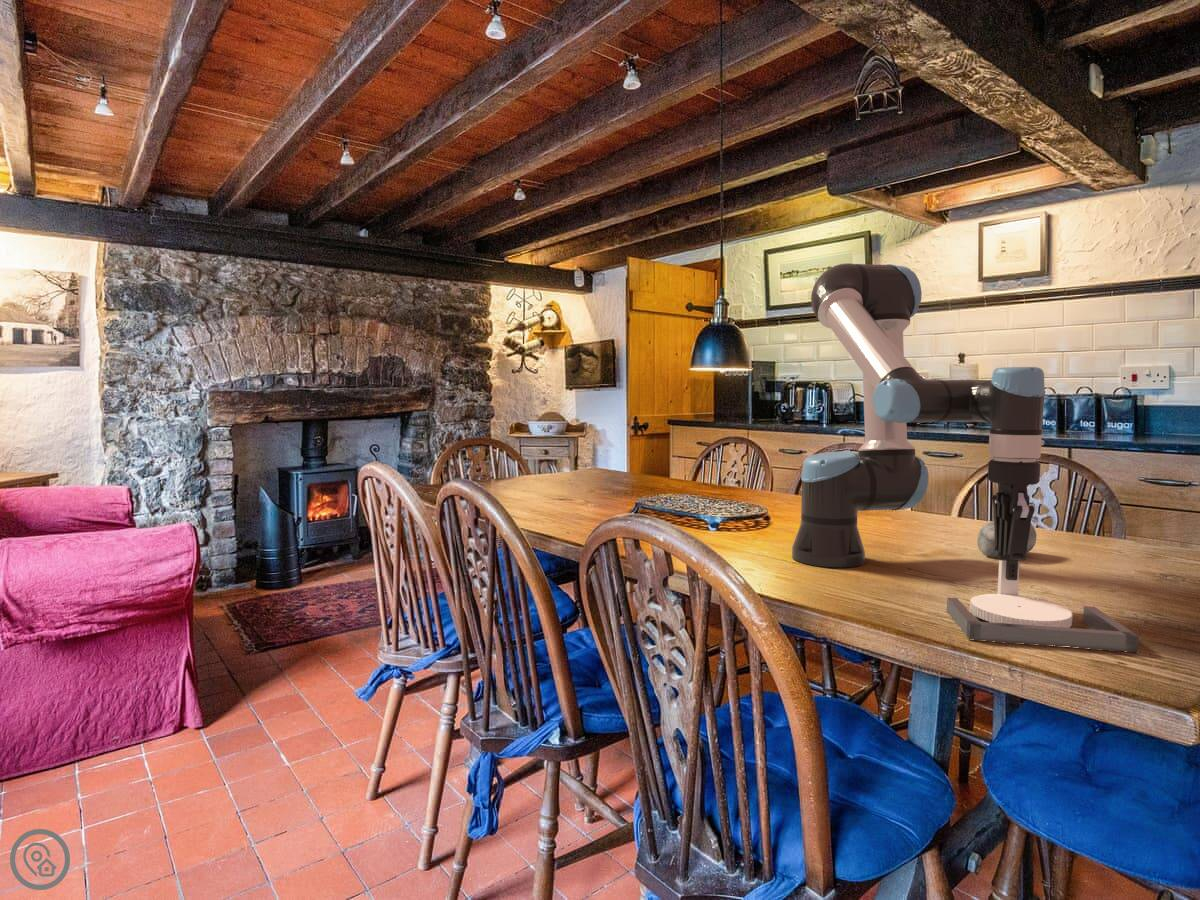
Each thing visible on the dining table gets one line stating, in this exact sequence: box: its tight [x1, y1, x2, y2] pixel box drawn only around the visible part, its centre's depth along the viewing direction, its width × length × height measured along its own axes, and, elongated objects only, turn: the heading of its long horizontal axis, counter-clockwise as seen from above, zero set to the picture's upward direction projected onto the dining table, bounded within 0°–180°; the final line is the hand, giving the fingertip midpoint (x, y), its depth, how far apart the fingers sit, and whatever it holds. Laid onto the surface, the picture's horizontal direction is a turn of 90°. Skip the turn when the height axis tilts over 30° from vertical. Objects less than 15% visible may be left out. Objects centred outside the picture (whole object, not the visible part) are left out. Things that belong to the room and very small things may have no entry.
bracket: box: [946, 597, 1139, 653], centre depth 106 cm, size 22×14×2 cm, turn 76°
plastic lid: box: [969, 593, 1073, 628], centre depth 111 cm, size 14×14×2 cm
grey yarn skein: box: [976, 520, 1038, 559], centre depth 155 cm, size 14×10×10 cm
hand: (1007, 596), depth 118 cm, fingers closed
